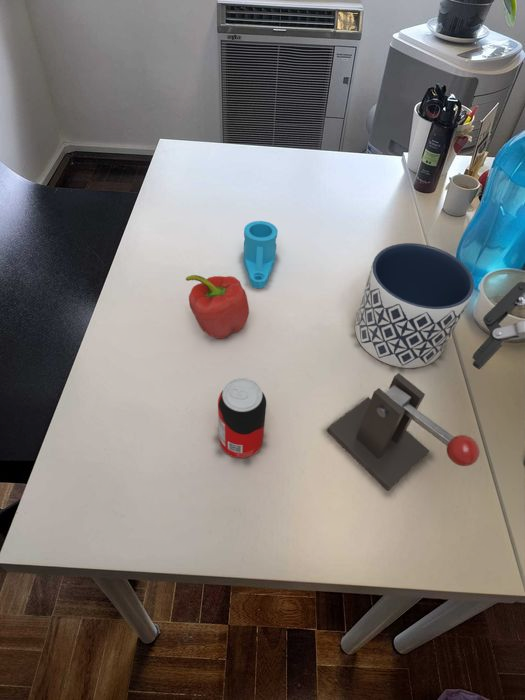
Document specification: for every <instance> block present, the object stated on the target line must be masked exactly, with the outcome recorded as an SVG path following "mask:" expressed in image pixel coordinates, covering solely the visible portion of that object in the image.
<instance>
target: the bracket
mask: <svg viewBox="0 0 525 700" xmlns="http://www.w3.org/2000/svg"><path fill="white" fill-rule="evenodd" d="M243 238H244V241H243V259H242V260H243V264H244V267H245V271H246V274H247V277H248V281H249V285H250V286H251V287H252V288H254V289H262V288H265V287H266V286H267V285H268V281H269V279H270V276H271V274H272V272H273V269H274V266H275V263H276V254H277V253H276V252H277V238H278V228H277V227H276V225H275V224H273V223H271V222H269V221H265V220H264V221H263V220H254V221H252V222H249V223H247V224H246V225H245V226H244V228H243Z"/></svg>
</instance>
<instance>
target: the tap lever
mask: <svg viewBox="0 0 525 700" xmlns="http://www.w3.org/2000/svg"><path fill="white" fill-rule="evenodd" d="M384 393H385V394H387V395H388V396H389V397H390V398H391V399H393V400H394V401H395V402H396V403H397V404H398V405H400V406H401V407H402V408H403V409H404V410H405V412H404V414H405V415H406V416H408V417H409V418H410V419H412V420H411V421H413V422H414V423H415V424H417V425H418V426H419V427H421V428H422V429H424V430H425V432H428V433H429V434H430V435H431V436H432V437H434V438H436V439H437V440H438V441H439V442H441V443H442V444H443V445H445V446H446V454H447V456H448V459H449V460H450V461H451V462H452V463H454V464H455V465H457V466H460V467H468V466H472V465H474V464H475V463H476V462H477V461H478V459H479V458H480V446H479V444H478V443H477V442H476V440H474V438H472V437H470V436H468V435H466V434H465V435H463V434H459V435H455V436H454V435H453V434H452V433H450V432H448V431H447V430H445V428H443V427H442V426H440V425H439V424H438V423H437V422H435V421H433V420H432V419H431V418H429V417H428V416H426V415H425V414H424V413H422V411H421V410H418V409H415V408H414V407H413V406H411V405H410V404H409V403H410V400H411V396H409V395H408V394H406V393H405V392H404V391H402V390H401V389H399V388H398V387H397V386H395V385H394V386H392V387H391V388H390V389H389V388H388V389H387V390H386V391H385V392H384Z"/></svg>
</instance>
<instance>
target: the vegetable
mask: <svg viewBox="0 0 525 700" xmlns="http://www.w3.org/2000/svg"><path fill="white" fill-rule="evenodd" d="M185 280H186V281H188V282H189V281H197V282H200V283H197V284H195V285H194V286H193V287H192V288H191V290H190V293H189V294H188V304H189V308H190V309H191V312H192V314H193V315H194V317H195V320H196V322H197V324H198V325H199V327H200V329H201V330H202V331H203V332H205V334H207V335H208V336H210V337H212V338H217V339H224V338H227V337H228V336H229V335H230V334H231V333H234V332H239V331H240V330H242V329H243V328H244V327H245V325H247V321H248V318H249V315H250V307H249V301H248V297H247V293H246V290H245V289H244V288H243V286H242V284H241V281H240V280H239V279H238V278H236V276H231V275H229V276H221V275H217V276H216V275H214V276H210V277H208V278H205V277H204V276H201V275H196V274H192V275H191V274H190V275H189V276H187V277H185Z"/></svg>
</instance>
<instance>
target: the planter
mask: <svg viewBox="0 0 525 700" xmlns="http://www.w3.org/2000/svg"><path fill="white" fill-rule="evenodd" d="M474 289H475V281H474V277H473V275H472V273H471V271H470V270H469V268H468V267H467V266H466V265H465V264H464V263H463V261H461V260H460V259H459V258H457V257H456V256H454V255H453V254H451V253H450V252H447V251H446V250H444V249H440V248H438V247H435V246H432V245H429V244H424V243H423V244H422V243H417V242H416V243H413V242H407V243H406V242H405V243H397V244H392V245H390V246H388V247H385V248H383V249H381V250H380V251H379V252H378V253H377V254H376V255H375V257H374V259H373V261H372V264H371V267H370V270H369V274H368V277H367V280H366V284H365V286H364V291H363V294H362V297H361V302H360V304H359V308H358V311H357V315H356V319H355V324H354V332H355V336H356V338H357V340H358V343H359V344H360V345H361V346H362V348H363V349H364V350H365V351H366V352H367V353H368V354H370V356H372V357H373V358H374V359H376V360H378V361H379V362H382V363H385V364H387V365H391V366H393V367H398V368H405V369H412V368H413V369H415V368H421V367H425V366H428V365H430V364H432V363H433V362H435V361H437V360H438V359H439V357H440V356H441V355H442V354H443V351H444V349H445V348H446V346H447V344H448V342H449V340H450V338H451V336H452V334H453V333H454V330H455V328H456V327H457V325H458V322H459V321H460V319H461V317H462V315H463V313H464V311H465V309H466V307H467V305H468V303H469V301H470V299H471V298H472V295H473V293H474Z"/></svg>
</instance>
